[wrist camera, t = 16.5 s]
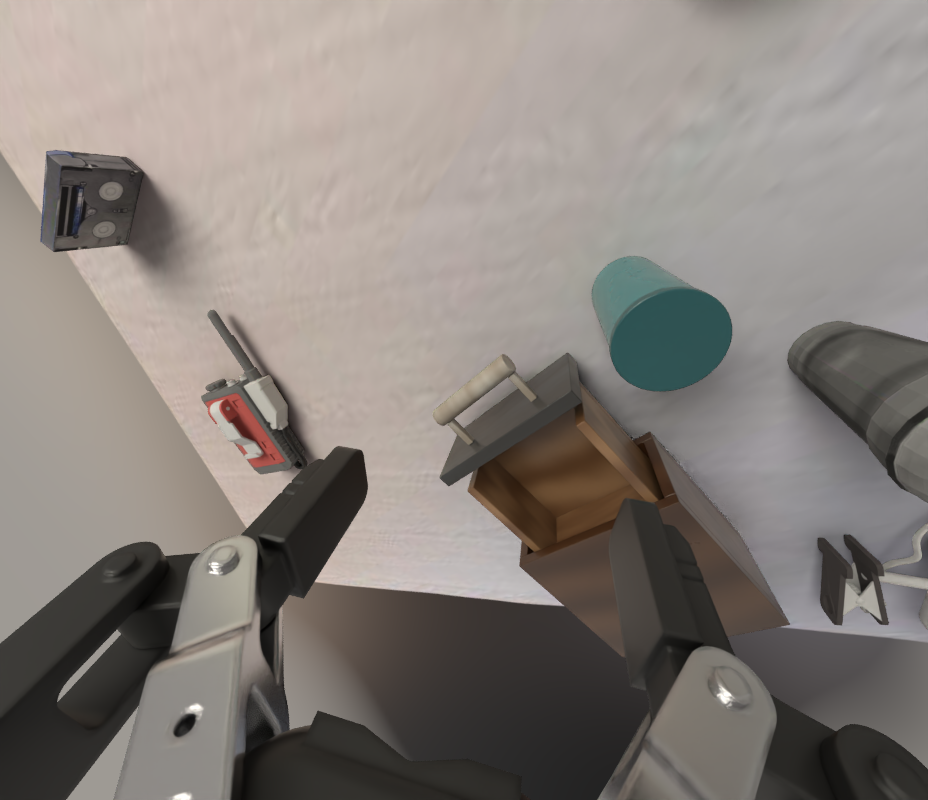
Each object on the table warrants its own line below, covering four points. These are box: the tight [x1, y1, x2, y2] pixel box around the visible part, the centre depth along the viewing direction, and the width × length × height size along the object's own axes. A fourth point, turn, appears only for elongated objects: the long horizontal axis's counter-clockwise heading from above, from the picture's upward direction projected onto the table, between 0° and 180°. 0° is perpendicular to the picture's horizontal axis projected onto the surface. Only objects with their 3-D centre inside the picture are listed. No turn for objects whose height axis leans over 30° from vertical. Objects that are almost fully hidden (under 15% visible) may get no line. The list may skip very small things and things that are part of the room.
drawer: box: [433, 353, 664, 552], centre depth 30 cm, size 19×14×7 cm
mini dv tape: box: [41, 150, 143, 252], centre depth 30 cm, size 8×2×6 cm, turn 137°
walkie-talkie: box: [201, 310, 307, 474], centre depth 39 cm, size 9×4×20 cm
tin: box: [592, 256, 732, 391], centre depth 22 cm, size 5×5×12 cm
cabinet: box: [519, 432, 790, 657], centre depth 33 cm, size 16×15×9 cm
